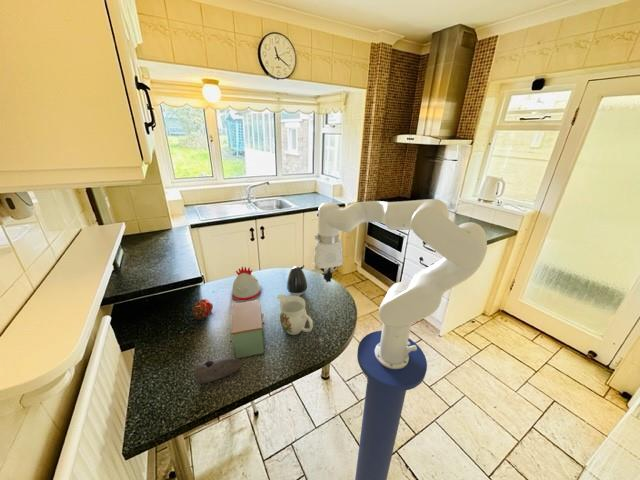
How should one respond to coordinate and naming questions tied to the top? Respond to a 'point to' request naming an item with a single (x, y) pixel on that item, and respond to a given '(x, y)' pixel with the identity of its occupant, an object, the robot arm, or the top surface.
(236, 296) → the grey rounded dome
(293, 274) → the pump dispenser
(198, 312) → the dragon fruit
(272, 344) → the top surface
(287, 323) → the pitcher
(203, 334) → the top surface
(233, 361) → the perforated stone tool
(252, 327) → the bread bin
